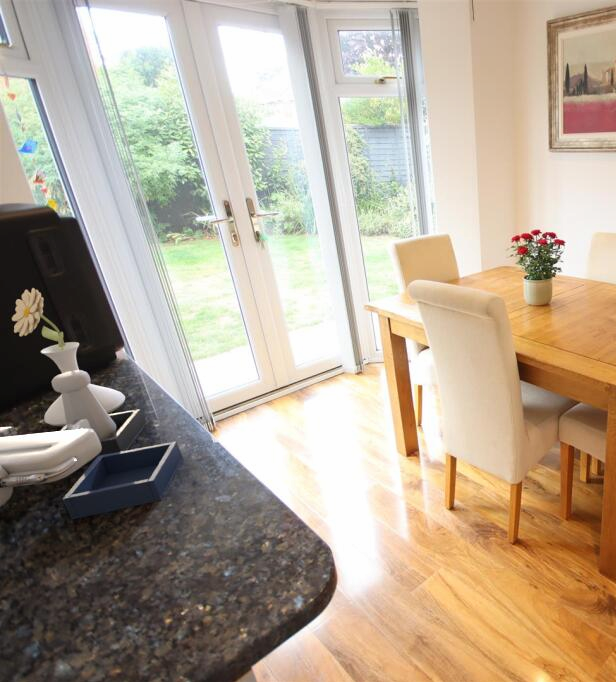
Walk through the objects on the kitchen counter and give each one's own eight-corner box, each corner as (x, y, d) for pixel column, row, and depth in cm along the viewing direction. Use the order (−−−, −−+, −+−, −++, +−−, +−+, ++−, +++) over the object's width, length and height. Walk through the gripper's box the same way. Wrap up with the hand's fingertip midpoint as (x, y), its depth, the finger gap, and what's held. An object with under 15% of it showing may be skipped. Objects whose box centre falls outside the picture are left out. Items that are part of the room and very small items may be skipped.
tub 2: (71, 519, 60) (61, 499, 59) (106, 474, 69) (98, 455, 67) (161, 500, 63) (153, 480, 62) (183, 458, 72) (177, 441, 70)
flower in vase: (49, 415, 86) (-13, 286, 77) (125, 394, 93) (78, 273, 84) (46, 444, 77) (-24, 301, 68) (131, 418, 84) (79, 285, 75)
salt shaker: (69, 459, 72) (34, 385, 67) (83, 440, 77) (52, 370, 72) (114, 449, 74) (84, 377, 69) (126, 431, 79) (98, 363, 74)
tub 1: (44, 471, 70) (35, 453, 69) (77, 437, 79) (70, 420, 77) (122, 456, 73) (115, 438, 72) (146, 425, 82) (140, 408, 80)
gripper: (45, 457, 54) (118, 400, 67) (-161, 479, 51) (-43, 416, 64) (66, 499, 56) (133, 437, 69) (-130, 523, 54) (-22, 454, 66)
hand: (47, 427), depth 67 cm, fingers open, 8 cm apart
